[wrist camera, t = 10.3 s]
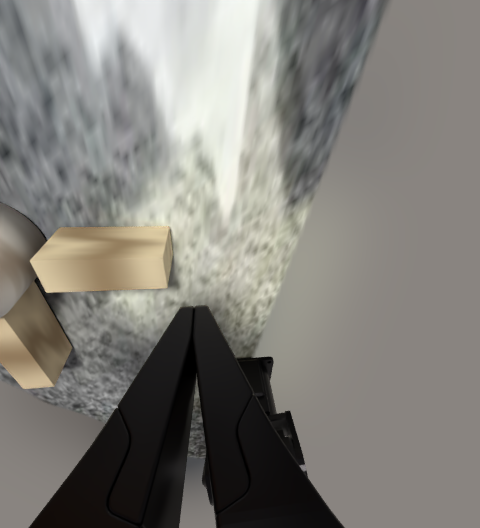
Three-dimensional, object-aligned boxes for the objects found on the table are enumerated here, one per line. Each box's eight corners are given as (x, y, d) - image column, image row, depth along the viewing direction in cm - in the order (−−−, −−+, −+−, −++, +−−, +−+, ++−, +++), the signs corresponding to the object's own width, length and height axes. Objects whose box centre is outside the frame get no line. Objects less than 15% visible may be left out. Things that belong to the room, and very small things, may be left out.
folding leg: (71, 256, 20) (46, 292, 17) (59, 227, 18) (29, 260, 15) (172, 254, 21) (167, 288, 18) (169, 226, 19) (162, 257, 16)
